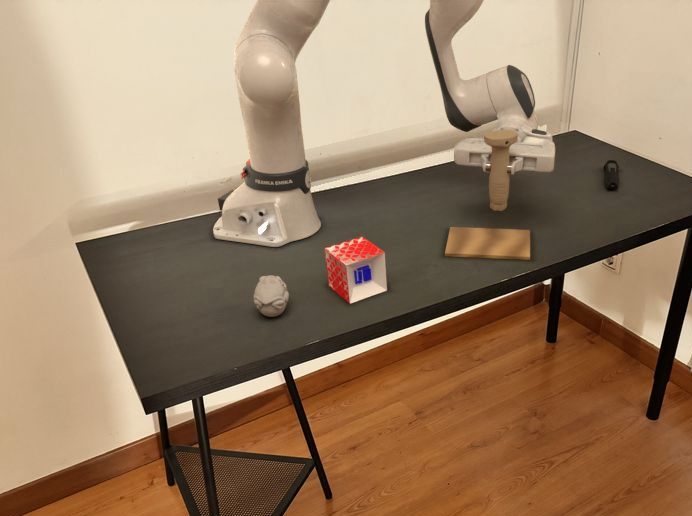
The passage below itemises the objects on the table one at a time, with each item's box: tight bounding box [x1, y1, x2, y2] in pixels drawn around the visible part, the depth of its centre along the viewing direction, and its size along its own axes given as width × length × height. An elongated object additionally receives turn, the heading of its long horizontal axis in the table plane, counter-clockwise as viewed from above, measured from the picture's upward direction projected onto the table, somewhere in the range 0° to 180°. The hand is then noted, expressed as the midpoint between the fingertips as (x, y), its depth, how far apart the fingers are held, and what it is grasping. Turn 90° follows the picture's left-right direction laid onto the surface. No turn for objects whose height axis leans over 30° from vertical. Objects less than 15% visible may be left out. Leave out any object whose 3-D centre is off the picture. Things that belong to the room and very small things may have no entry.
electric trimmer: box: [603, 159, 620, 190], centre depth 176 cm, size 4×16×3 cm, turn 171°
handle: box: [483, 130, 518, 212], centre depth 140 cm, size 5×6×15 cm
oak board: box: [444, 226, 531, 261], centre depth 148 cm, size 17×12×1 cm
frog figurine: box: [253, 274, 290, 318], centre depth 125 cm, size 6×7×7 cm
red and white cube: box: [324, 236, 388, 305], centre depth 132 cm, size 8×8×8 cm
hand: (498, 169), depth 138 cm, fingers closed on handle, 3 cm apart
